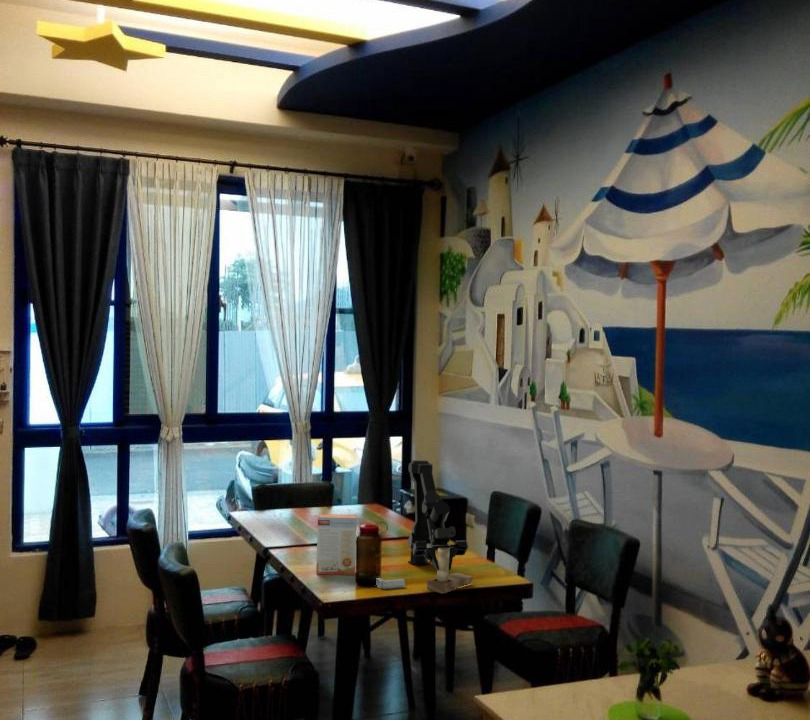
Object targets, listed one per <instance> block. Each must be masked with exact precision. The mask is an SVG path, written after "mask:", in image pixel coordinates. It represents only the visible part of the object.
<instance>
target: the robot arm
mask: <svg viewBox="0 0 810 720" xmlns="http://www.w3.org/2000/svg"><path fill="white" fill-rule="evenodd" d="M408 473H409V477H410V479H411V481H412V482H413V484H414V512H415V513H414V515H415V516H414V518H415V521H414V523H413V525H412V527H411V529H410V531H411V532H409V533H410V534H409V536H408V539H407V547H408V548H409V549H410V550H411V551H410V560H408V561H407V563H408V564H411V565H415V566H419V567H421V566H425V564H426V565H429V563H430V564H432V566H433V567H434V569H435V570H436V572H437V571H438V570H439V567H438V562H437V560H438V557H437V554H436V552H438V548H441V547H445V548H449V549H450V551H449V571H451V570H452V565H453V558H455V557H456V556H465V555H466V552H467V550H468V548H469V545H468V542H467V541H466V540H455V542H454V543H453V544H448V543H450V539H451V538H452V537H455V536H456V534H457V533H456V527H455V526H449V527H447V528H446V527H445V522H446V521H447V518H448V515H449V513H450V509H451V507H450V505H449V504H448V503H447V502H446V501H444V500H443V498H442V497H441V495H440V494H439V493H437V489H436V485H435V480H434V474H433V463H430V462H429V460H420V459H419V460H416V459H415V460H414V459H413V460H411V462H409V463H408Z"/></svg>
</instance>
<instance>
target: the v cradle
mask: <svg viewBox="0 0 810 720" xmlns="http://www.w3.org/2000/svg"><path fill="white" fill-rule="evenodd" d="M405 583H406V580H405V579H404V578H398V579H386V580H384V579H382V578H381V577H379V578H376V585H377V586H376V585H375V586H376V587H377V588H379V589H381V590H382V589H383V590H388V589H389V590H390V589H400V588H401V589H402V588H405V585H406V584H405Z"/></svg>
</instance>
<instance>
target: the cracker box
mask: <svg viewBox="0 0 810 720" xmlns="http://www.w3.org/2000/svg"><path fill="white" fill-rule="evenodd" d="M357 518H358V515H357V514H332V513H331V514H330V513H329V514H324V513H323V514H321V513H320V514H318V517H317V537H316V539H317V540H316V544H317V545H316V566H315V567H316V568H315V569H316V572H315V573H316V574H315V575H345V576H354V575H355V574H356V560H357V559H356V552H357V551H356V548H357V520H358V519H357Z"/></svg>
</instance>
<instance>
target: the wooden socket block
mask: <svg viewBox="0 0 810 720" xmlns="http://www.w3.org/2000/svg"><path fill="white" fill-rule="evenodd" d="M471 583H472V584H473V576H472V575H469V574H468V575H467V574H463V573H461V572H454V573H450V574H449V575H448V582H447V583H440V582H437V577H434V578H432V579H427V580H426V589H427V590H429V591H433V592H436V593H439V594H447V593H449V592H452V590H453V589H455V588H458V587H461V586H464V585H468V584H471ZM453 591H454V590H453Z"/></svg>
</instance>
